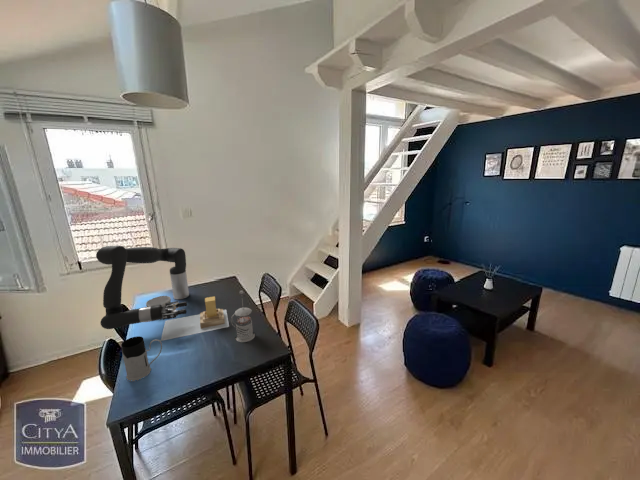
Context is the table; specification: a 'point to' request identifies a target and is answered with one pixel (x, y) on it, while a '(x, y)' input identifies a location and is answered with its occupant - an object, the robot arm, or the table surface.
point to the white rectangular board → (188, 326)
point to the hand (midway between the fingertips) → (186, 307)
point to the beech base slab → (211, 319)
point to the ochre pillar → (210, 306)
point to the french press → (245, 331)
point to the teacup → (158, 301)
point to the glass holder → (136, 358)
